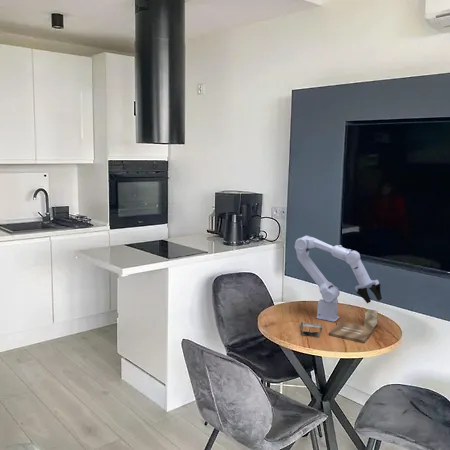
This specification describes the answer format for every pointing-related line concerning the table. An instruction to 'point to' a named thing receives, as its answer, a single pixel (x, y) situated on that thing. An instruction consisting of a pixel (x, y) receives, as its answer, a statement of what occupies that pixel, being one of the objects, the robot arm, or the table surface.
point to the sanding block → (371, 318)
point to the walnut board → (351, 332)
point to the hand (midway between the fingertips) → (374, 301)
